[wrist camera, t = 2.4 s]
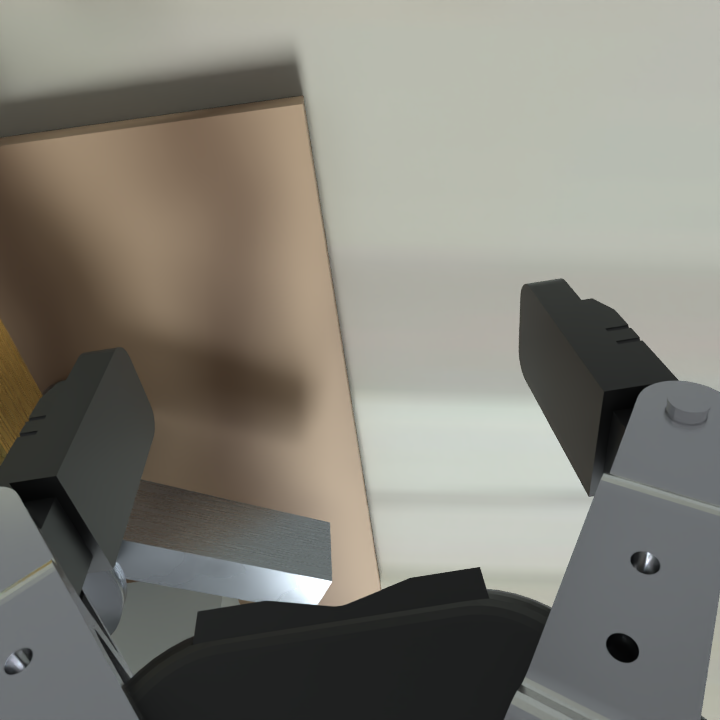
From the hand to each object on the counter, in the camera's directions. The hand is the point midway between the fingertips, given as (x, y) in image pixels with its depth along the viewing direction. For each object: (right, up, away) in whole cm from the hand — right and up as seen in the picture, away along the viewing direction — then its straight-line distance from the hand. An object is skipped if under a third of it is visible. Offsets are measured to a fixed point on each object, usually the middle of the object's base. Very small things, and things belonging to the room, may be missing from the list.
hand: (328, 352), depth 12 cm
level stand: (-10, -12, +17) cm, 23 cm away
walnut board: (-10, -4, +12) cm, 16 cm away
